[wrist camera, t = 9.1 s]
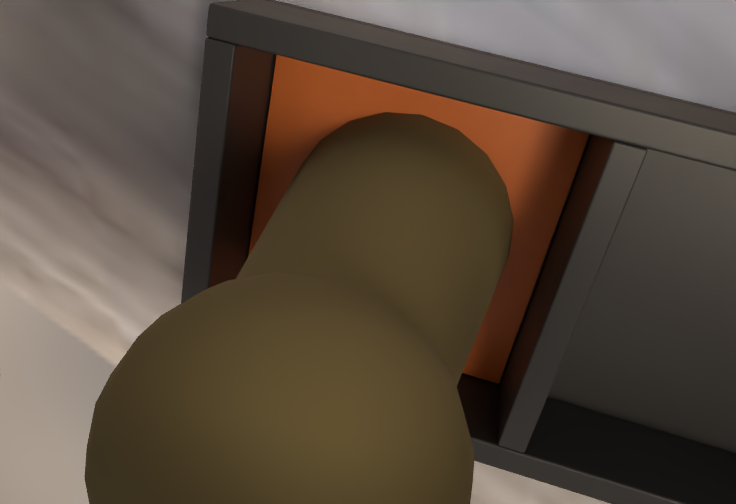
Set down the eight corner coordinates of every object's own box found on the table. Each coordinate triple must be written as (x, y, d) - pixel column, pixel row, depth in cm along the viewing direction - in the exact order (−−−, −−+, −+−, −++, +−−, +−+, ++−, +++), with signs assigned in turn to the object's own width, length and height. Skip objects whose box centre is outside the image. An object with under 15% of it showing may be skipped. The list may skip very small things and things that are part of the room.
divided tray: (263, -3, 16) (207, 2, 13) (1029, 184, 14) (1157, 237, 11) (223, 311, 20) (174, 367, 17) (817, 491, 18) (873, 587, 15)
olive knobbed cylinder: (543, 143, 16) (585, 437, 6) (479, 349, 18) (430, 796, 8) (306, 87, 16) (-22, 263, 6) (276, 292, 19) (10, 643, 9)
